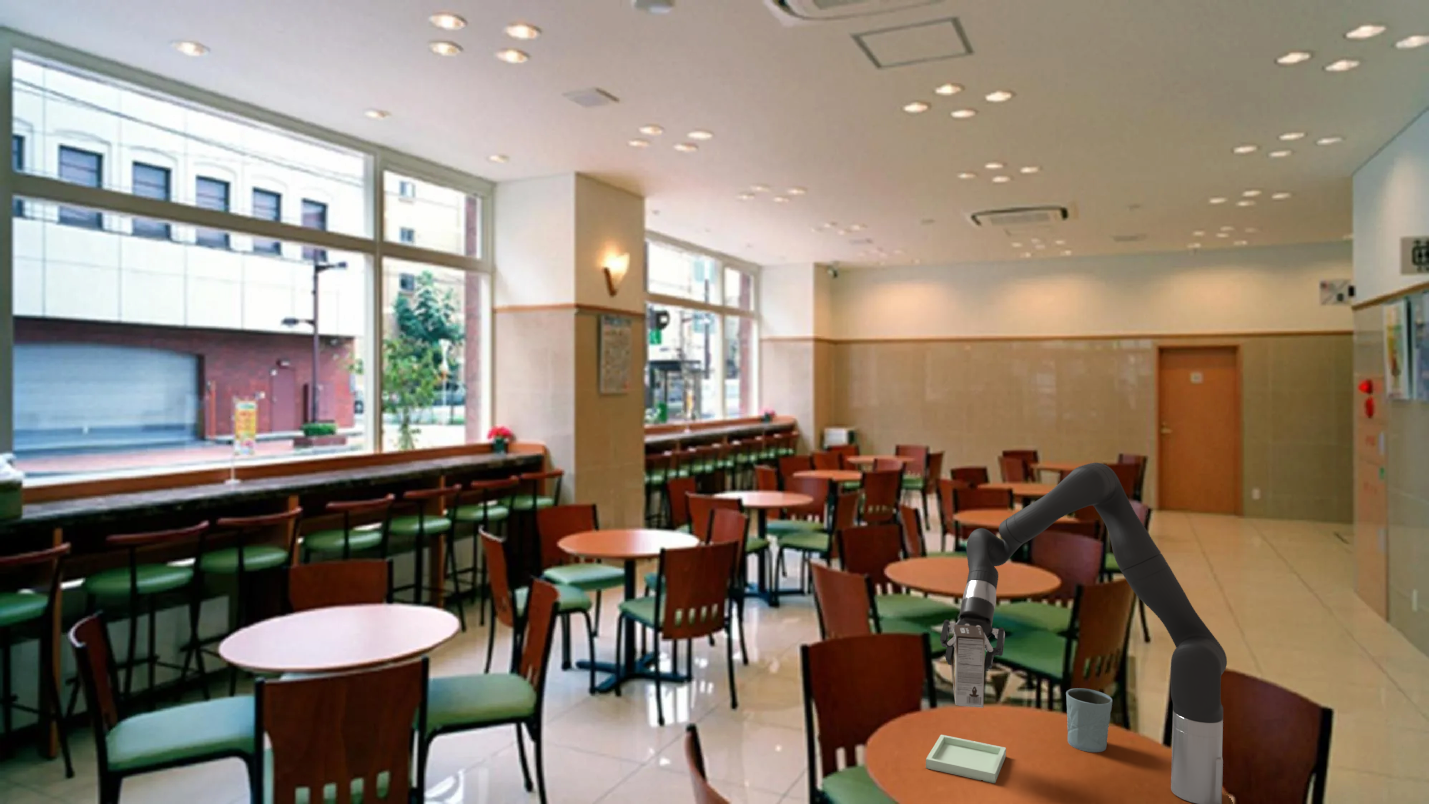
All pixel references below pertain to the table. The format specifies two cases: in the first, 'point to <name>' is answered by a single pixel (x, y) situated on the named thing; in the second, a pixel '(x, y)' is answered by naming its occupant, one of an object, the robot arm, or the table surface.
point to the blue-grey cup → (1088, 719)
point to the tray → (966, 758)
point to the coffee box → (969, 665)
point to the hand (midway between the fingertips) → (967, 666)
